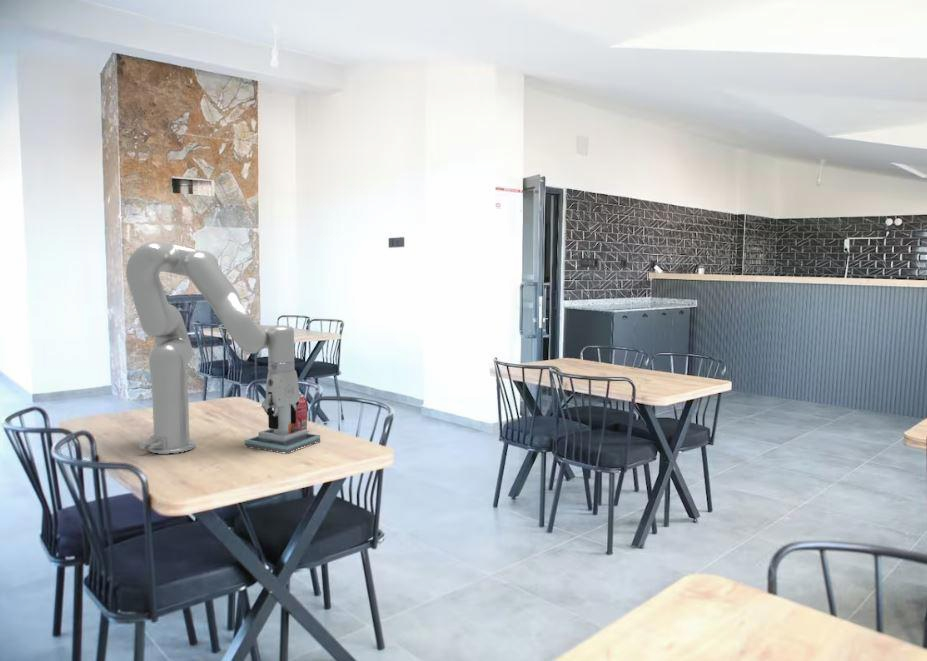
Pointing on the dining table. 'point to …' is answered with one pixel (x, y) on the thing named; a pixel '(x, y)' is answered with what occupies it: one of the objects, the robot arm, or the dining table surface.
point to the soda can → (301, 414)
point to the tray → (282, 440)
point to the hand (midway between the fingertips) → (282, 425)
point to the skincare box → (284, 420)
